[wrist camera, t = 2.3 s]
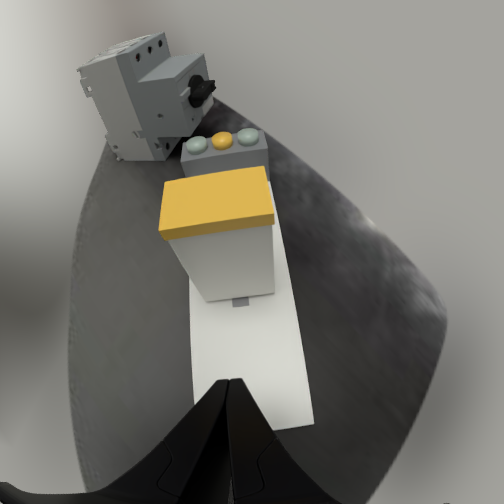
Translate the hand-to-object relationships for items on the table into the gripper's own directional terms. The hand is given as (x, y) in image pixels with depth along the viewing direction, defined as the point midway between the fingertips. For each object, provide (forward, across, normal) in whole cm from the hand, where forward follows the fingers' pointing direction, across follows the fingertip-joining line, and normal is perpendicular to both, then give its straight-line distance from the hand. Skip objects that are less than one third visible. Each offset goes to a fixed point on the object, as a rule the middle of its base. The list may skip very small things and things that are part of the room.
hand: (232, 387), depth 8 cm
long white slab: (+14, 0, +1) cm, 14 cm away
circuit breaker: (+29, +8, -14) cm, 33 cm away
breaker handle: (+12, 0, 0) cm, 12 cm away
